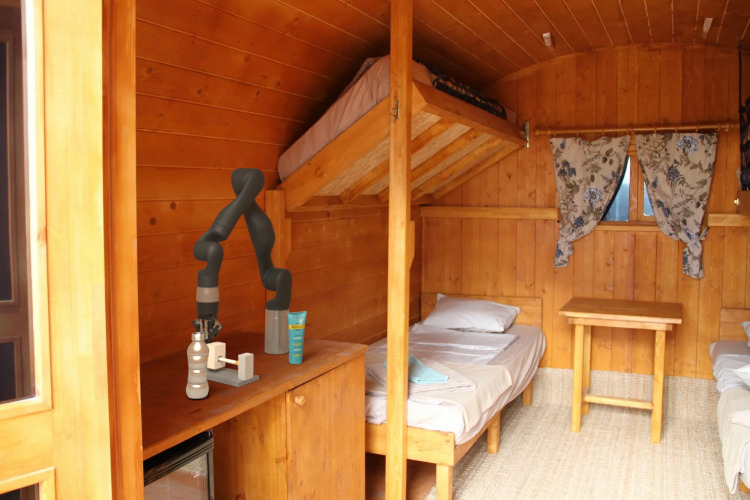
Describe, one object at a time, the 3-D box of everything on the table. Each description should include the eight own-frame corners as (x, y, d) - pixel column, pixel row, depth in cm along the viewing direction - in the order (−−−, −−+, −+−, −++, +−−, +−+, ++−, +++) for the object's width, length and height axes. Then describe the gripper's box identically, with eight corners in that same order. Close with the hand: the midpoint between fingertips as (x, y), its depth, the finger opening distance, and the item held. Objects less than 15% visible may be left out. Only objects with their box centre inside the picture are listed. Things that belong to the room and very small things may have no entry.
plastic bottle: (188, 394, 207) (188, 331, 205) (210, 394, 207) (211, 331, 205) (184, 401, 200) (184, 335, 198) (206, 401, 201) (207, 336, 199)
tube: (289, 365, 244) (290, 313, 242) (283, 362, 248) (285, 311, 246) (307, 363, 248) (309, 312, 246) (301, 360, 252) (303, 309, 250)
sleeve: (216, 364, 231) (216, 341, 230) (225, 366, 229) (225, 343, 228) (206, 367, 226) (206, 344, 226) (214, 369, 224) (214, 346, 224)
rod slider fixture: (211, 368, 236) (212, 342, 235) (259, 380, 224) (259, 352, 223) (190, 375, 227) (190, 347, 226) (238, 387, 216) (238, 358, 215)
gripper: (229, 300, 227) (229, 350, 229) (202, 295, 234) (201, 344, 236) (213, 303, 221) (212, 354, 223) (185, 298, 228) (185, 348, 229)
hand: (207, 349), depth 229 cm, fingers closed
